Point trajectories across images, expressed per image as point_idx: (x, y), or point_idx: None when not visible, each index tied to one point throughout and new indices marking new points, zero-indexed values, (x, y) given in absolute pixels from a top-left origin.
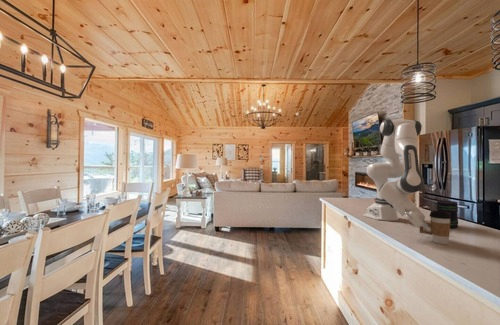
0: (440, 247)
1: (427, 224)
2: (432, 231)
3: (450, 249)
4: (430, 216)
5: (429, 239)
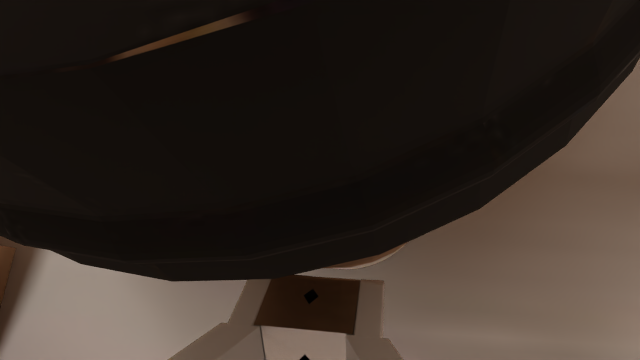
0: (613, 203)
1: (237, 345)
2: (378, 258)
3: (621, 108)
4: (413, 235)
5: None
